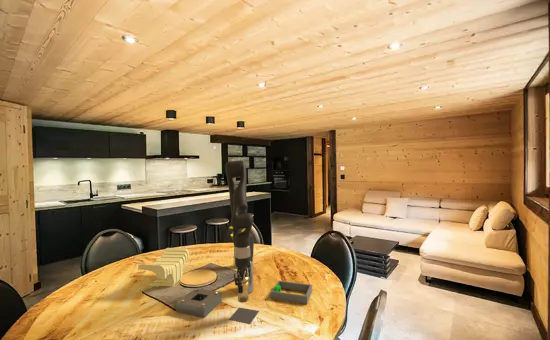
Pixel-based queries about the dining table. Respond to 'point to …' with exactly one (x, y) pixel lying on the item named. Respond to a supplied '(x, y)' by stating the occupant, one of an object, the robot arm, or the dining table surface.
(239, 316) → the mat
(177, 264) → the slatted curved stool
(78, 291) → the dining table surface
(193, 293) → the housing
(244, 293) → the brass capped cylinder
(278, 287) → the mechanical part
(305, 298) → the parts tray
